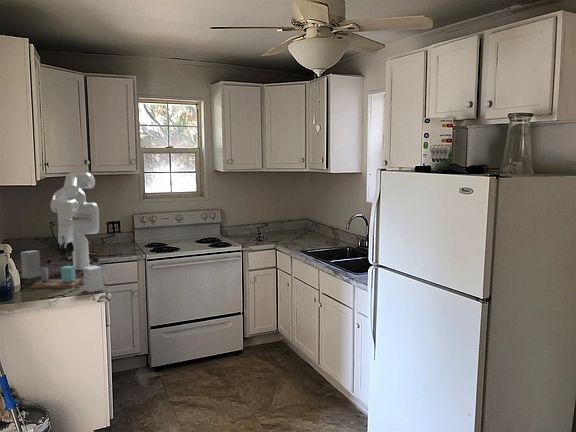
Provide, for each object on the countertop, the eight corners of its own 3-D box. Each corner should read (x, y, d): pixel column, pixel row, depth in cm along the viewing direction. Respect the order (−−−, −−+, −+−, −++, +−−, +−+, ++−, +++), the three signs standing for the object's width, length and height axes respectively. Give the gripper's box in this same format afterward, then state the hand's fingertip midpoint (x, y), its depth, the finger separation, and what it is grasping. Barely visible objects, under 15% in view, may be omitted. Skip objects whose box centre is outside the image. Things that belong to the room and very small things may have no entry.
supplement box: (97, 287, 261) (95, 265, 260) (103, 289, 256) (102, 267, 255) (84, 290, 256) (82, 267, 254) (90, 292, 251) (89, 269, 249)
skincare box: (29, 279, 278) (27, 252, 276) (21, 277, 281) (19, 251, 279) (42, 276, 285) (40, 250, 283) (34, 274, 288) (32, 249, 286)
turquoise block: (65, 278, 269) (65, 265, 268) (75, 278, 269) (75, 265, 269) (61, 281, 264) (60, 268, 263) (71, 281, 264) (71, 268, 263)
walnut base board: (43, 281, 273) (42, 279, 273) (81, 281, 274) (81, 278, 274) (31, 288, 259) (31, 285, 259) (72, 287, 260) (72, 285, 260)
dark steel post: (43, 281, 267) (43, 267, 266) (48, 281, 267) (48, 267, 266) (41, 282, 265) (40, 268, 264) (46, 282, 265) (45, 268, 264)
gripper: (65, 220, 271) (66, 250, 273) (51, 225, 254) (53, 256, 256) (78, 220, 271) (80, 250, 273) (66, 224, 254) (67, 256, 256)
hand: (67, 253), depth 265 cm, fingers open, 8 cm apart
